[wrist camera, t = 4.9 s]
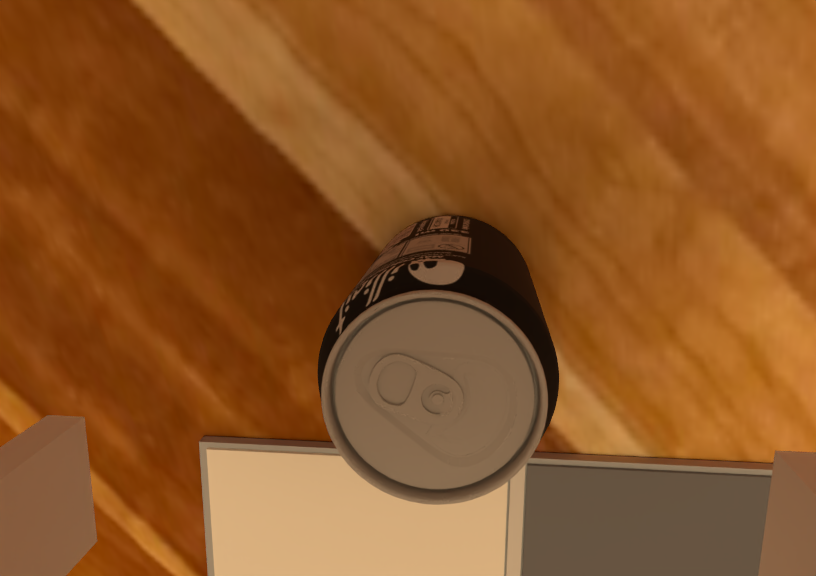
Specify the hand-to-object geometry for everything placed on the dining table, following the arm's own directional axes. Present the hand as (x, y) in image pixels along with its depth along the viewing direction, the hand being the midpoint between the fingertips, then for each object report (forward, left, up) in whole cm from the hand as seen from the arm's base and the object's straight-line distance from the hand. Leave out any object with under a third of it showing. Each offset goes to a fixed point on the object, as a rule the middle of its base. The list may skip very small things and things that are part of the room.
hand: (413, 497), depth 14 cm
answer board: (+11, +3, -16) cm, 20 cm away
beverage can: (0, 0, -17) cm, 17 cm away
